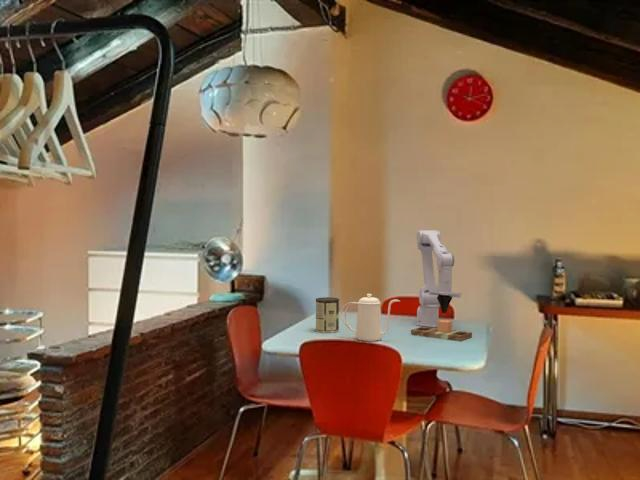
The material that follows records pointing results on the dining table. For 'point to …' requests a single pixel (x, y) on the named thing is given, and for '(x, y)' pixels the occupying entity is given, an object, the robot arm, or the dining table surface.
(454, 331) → the board
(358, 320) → the coffeepot
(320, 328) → the coffee can
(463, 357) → the dining table surface
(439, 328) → the block
